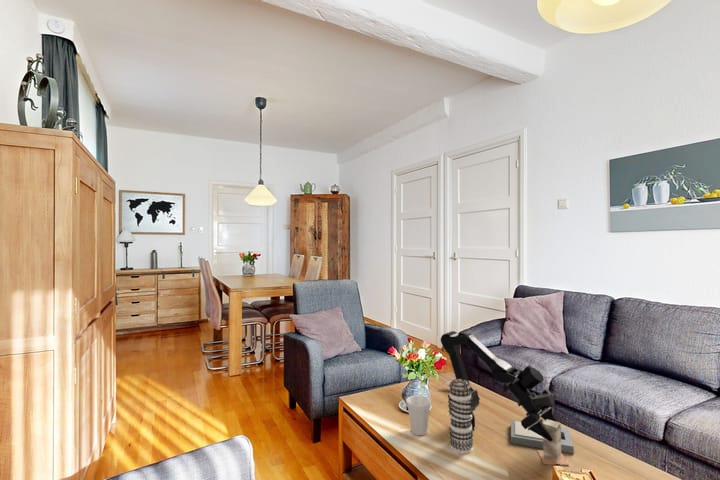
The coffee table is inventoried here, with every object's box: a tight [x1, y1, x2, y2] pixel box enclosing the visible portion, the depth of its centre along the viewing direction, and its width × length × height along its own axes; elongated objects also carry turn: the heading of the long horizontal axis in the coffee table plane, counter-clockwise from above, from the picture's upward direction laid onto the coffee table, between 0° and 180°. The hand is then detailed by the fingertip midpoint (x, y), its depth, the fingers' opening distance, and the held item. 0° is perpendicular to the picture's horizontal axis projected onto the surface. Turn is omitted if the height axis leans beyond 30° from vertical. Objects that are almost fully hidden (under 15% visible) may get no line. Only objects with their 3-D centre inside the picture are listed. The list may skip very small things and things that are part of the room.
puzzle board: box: [510, 419, 575, 454], centre depth 145 cm, size 21×14×3 cm, turn 68°
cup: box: [405, 395, 432, 436], centre depth 152 cm, size 10×10×13 cm
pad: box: [536, 449, 570, 466], centre depth 132 cm, size 8×8×1 cm
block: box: [542, 419, 562, 462], centre depth 132 cm, size 4×4×12 cm
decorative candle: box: [447, 378, 474, 455], centre depth 141 cm, size 9×9×25 cm
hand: (556, 435), depth 131 cm, fingers open, 9 cm apart
